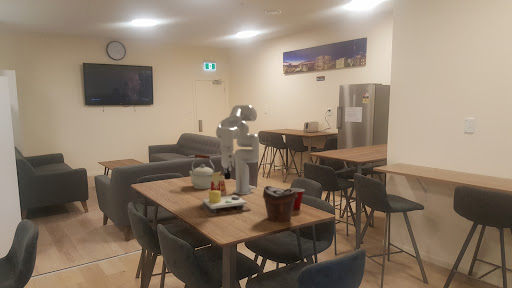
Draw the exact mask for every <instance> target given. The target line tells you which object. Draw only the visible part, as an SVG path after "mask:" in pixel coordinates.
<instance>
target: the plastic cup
mask: <svg viewBox="0 0 512 288" xmlns="http://www.w3.org/2000/svg"><path fill="white" fill-rule="evenodd" d="M287 189H291V190H295V191H296V193H297V196H298V198H297V199H295V201H294V206H293V210H299V209H300V208H301V206H302V200H303V195H304V193H305V189H303V188H298V187H288V188H287Z"/></svg>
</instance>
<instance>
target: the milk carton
mask: <svg viewBox="0 0 512 288" xmlns="http://www.w3.org/2000/svg"><path fill="white" fill-rule="evenodd" d="M213 190H218V191H221V197H222V196H228V194H227V187H226V182H225V179H224V173H222V171H221V170H220V171H217V172H214V173H212V178H211V188H210V191H213Z"/></svg>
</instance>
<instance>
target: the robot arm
mask: <svg viewBox="0 0 512 288" xmlns="http://www.w3.org/2000/svg"><path fill="white" fill-rule="evenodd" d="M257 117H258V114H257V110H256V109H255V107H254V106H252V105H249V104H239V105H235V106H233V107H232V108H231V112H230V114H229V116H228V117H226V118H223V119H222V120H221V121H219V123H218V125H217V127H216V130H215V135H216V138H217V139H219V140H220V152H221V157H220V158H221V159H220V163H221V166H222V167H223V171H224V173H223V177H224V180H227V181H228V180H231V172H232V169H234V168H235V189H234V190H233V193H234V195H249V194H252V190H255V189H256V186H252V185H251V186H250V168H249V166H248V164H247V163H249V164H250V163H252V164H255V163H256V164H257V163H258V161H259V158H260V137H259V135H257V134H256V133H250V128H249V124H248V123H247V122H255V121H256V120H257ZM234 140H236V144H237V147H240V148H239V149H236V150H235V151H234ZM249 148H250V149H249Z"/></svg>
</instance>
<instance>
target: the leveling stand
mask: <svg viewBox="0 0 512 288" xmlns="http://www.w3.org/2000/svg"><path fill="white" fill-rule="evenodd" d="M198 208H199V209H200V210H201V211H202V212H203V213H204V214H206V215H207V216H208V217H216V216H222V215H224V216H225V215H230V214H237V213H244V212H251V208H249V207H248V206H246V204H245V205H237V206H230V207H223V208H216V209H211V208H210V207H209V206H208V205H206V204H205V203H204V202H203V201H202V205H198Z"/></svg>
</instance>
